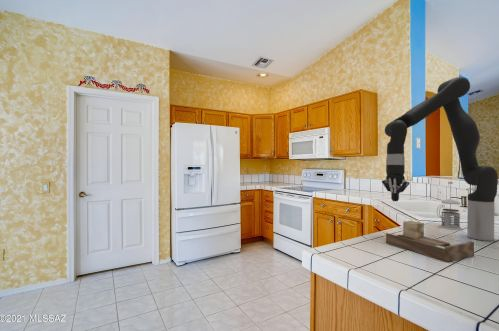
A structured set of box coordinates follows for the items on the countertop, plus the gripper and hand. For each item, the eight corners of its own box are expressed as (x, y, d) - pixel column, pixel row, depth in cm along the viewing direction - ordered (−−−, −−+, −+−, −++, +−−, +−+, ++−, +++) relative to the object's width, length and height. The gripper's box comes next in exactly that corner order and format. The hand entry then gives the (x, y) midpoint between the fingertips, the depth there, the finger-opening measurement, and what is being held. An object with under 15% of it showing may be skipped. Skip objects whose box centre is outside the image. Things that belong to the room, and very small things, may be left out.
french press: (467, 230, 133) (467, 182, 134) (444, 229, 134) (444, 181, 134) (452, 225, 143) (452, 181, 143) (431, 225, 143) (431, 180, 144)
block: (411, 234, 116) (411, 220, 116) (423, 237, 111) (423, 223, 111) (403, 235, 113) (403, 221, 113) (415, 238, 108) (415, 224, 108)
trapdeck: (410, 238, 117) (410, 227, 117) (474, 255, 95) (474, 242, 95) (385, 242, 110) (386, 231, 110) (447, 262, 88) (448, 247, 88)
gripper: (414, 164, 115) (414, 202, 115) (388, 164, 128) (387, 199, 128) (403, 163, 112) (403, 203, 112) (377, 164, 125) (377, 199, 124)
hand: (395, 201), depth 120 cm, fingers closed
